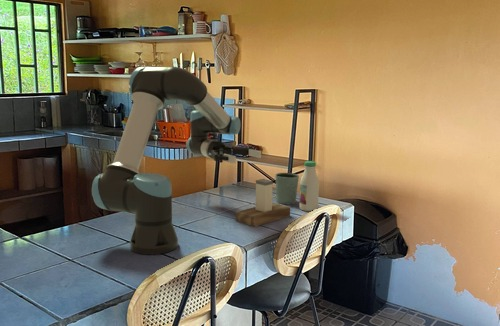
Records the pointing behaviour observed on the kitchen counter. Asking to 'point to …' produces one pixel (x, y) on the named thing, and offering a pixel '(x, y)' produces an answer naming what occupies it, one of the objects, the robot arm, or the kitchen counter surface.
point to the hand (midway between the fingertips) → (248, 157)
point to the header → (262, 215)
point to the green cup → (286, 188)
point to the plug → (264, 195)
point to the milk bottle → (309, 188)
